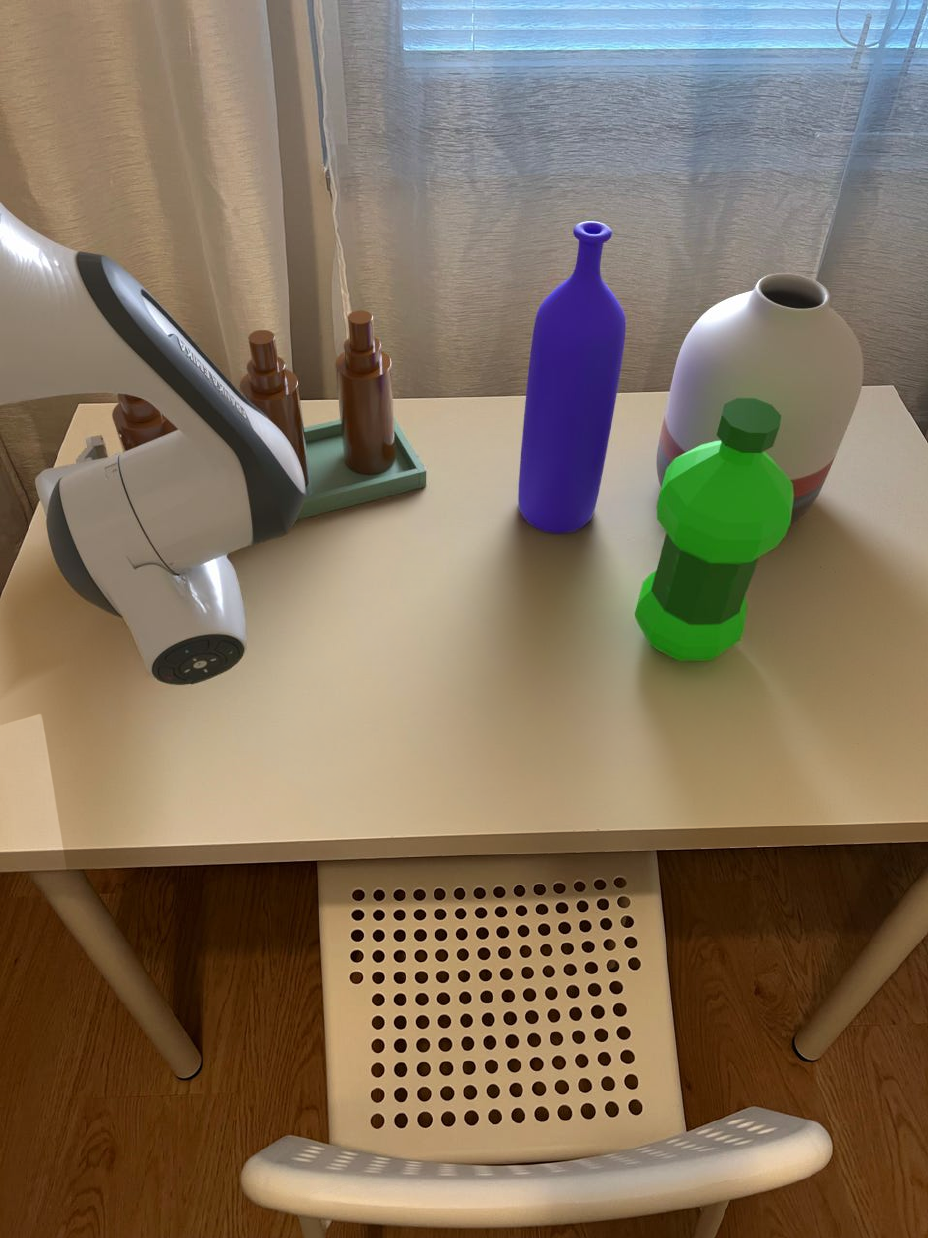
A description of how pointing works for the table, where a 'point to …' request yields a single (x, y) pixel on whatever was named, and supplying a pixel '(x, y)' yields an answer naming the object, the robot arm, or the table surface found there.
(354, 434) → the row bottle
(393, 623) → the table surface
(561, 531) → the bottle
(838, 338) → the vase
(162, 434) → the amber bottle
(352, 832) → the table surface
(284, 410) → the row bottle
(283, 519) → the robot arm
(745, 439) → the plastic bottle
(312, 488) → the tray
